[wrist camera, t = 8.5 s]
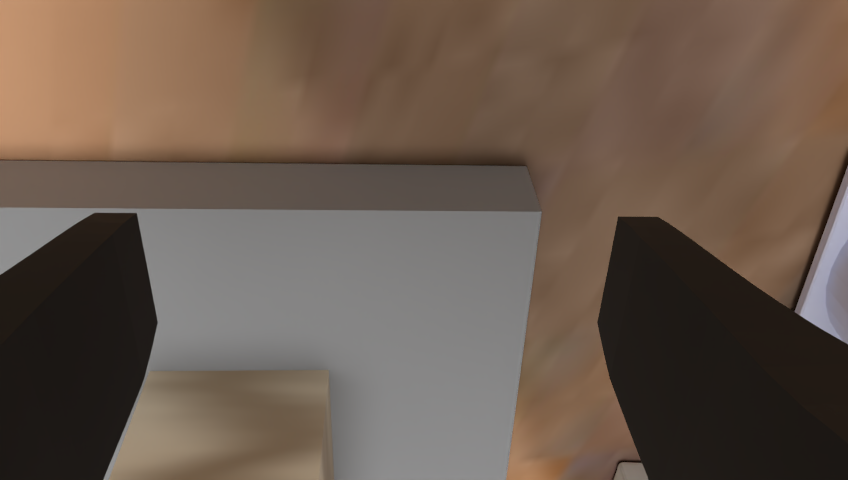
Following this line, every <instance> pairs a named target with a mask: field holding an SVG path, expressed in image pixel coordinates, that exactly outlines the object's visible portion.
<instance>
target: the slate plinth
mask: <svg viewBox="0 0 848 480" xmlns="http://www.w3.org/2000/svg"><path fill="white" fill-rule="evenodd" d="M93 213H137V217H138V222H139V227H140V232H141V237H142V243H143V248H144V253H145V258H146V263H147V269H148V274H149V279H150V284H151V289H152V295H153V300H154V305H155V310H156V315H157V321H158V324H157V329H156V333H155V337H154V342H153V346H152V350H151V355H150V358H149V362H148V366H147V370H146V374H145V377H144V381H143V383H142V386H141V388H140V391H139V394H138V396H137V399H136V401H135V404H134V406H133V409H132V411H131V413H130V416H129V418H128V421H127V423H126V426H125V428H124V431H123V433H122V436H121V438H120V440H119V443H118V445H117V448H116V450H115V453H114V455H113V457H112V460H111V462H110V465H109V467H108V470H107V472H106V474H105V477H104V479H103V480H109V478H110V475H111V472H112V470H113V467H114V464H115V462H116V459H117V456H118V454H119V451H120V448H121V446H122V443H123V440H124V438H125V435H126V432H127V430H128V427H129V424H130V422H131V419H132V417H133V414H134V411H135V409H136V406H137V403H138V401H139V398H140V395H141V393H142V390H143V387H144V385H145V382H146V379H147V377H148V374H149V371H244V370H329V385H330V405H331V426H332V446H333V467H334V480H506V476H507V468H508V461H509V453H510V446H511V439H512V431H513V424H514V416H515V409H516V401H517V394H518V386H519V379H520V371H521V364H522V356H523V349H524V341H525V334H526V326H527V319H528V311H529V304H530V296H531V289H532V281H533V274H534V266H535V259H536V251H537V244H538V236H539V229H540V221H541V214H542V211H541V208H540V205H539V202H538V199H537V196H536V193H535V190H534V187H533V184H532V181H531V178H530V175H529V172H528V169H527V166H476V165H385V164H294V163H203V162H112V161H22V160H0V275H1V274H2V273H4V272H5V271H7V270H8V269H10V268H11V267H13V266H14V265H16V264H17V263H19V262H20V261H22V260H23V259H25V258H26V257H28V256H29V255H30V254H32V253H33V252H35V251H36V250H38V249H39V248H41V247H42V246H44V245H45V244H47V243H48V242H49V241H51V240H52V239H54V238H55V237H57V236H58V235H60V234H61V233H63V232H64V231H66V230H67V229H69V228H70V227H72V226H73V225H75V224H76V223H78V222H80V221H81V220H83V219H84V218H86V217H88V216H90V215H92V214H93Z"/></svg>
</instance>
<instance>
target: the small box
mask: <svg viewBox="0 0 848 480" xmlns="http://www.w3.org/2000/svg"><path fill="white" fill-rule="evenodd" d="M614 480H648V477H647V474H646V472H645V469H644V467H643V464H642V463H635V462H621V463H620V464H619V465H618V468H617V471H616V474H615V477H614Z"/></svg>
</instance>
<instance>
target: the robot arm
mask: <svg viewBox="0 0 848 480" xmlns="http://www.w3.org/2000/svg"><path fill="white" fill-rule="evenodd" d="M157 324H158V321H157V315H156V310H155V305H154V300H153V295H152V289H151V284H150V279H149V274H148V269H147V263H146V258H145V253H144V248H143V243H142V237H141V232H140V227H139V222H138V217H137V213H93V214H92V215H90V216H88V217H86V218H84V219H83V220H81V221H80V222H78V223H76V224H75V225H73V226H72V227H70V228H69V229H67V230H66V231H64V232H63V233H61V234H60V235H58V236H57V237H55V238H54V239H52V240H51V241H49V242H48V243H47V244H45V245H44V246H42V247H41V248H39V249H38V250H36V251H35V252H33V253H32V254H30V255H29V256H28V257H26V258H25V259H23V260H22V261H20V262H19V263H17V264H16V265H14V266H13V267H11V268H10V269H8V270H7V271H5V272H4V273H2V274H1V275H0V480H103V479H104V477H105V474H106V472H107V470H108V467H109V465H110V462H111V460H112V457H113V455H114V453H115V450H116V448H117V445H118V443H119V440H120V438H121V436H122V433H123V431H124V428H125V426H126V423H127V421H128V418H129V416H130V413H131V411H132V409H133V406H134V404H135V401H136V399H137V396H138V394H139V391H140V388H141V386H142V383H143V381H144V377H145V374H146V370H147V366H148V362H149V358H150V355H151V350H152V346H153V342H154V337H155V333H156V329H157ZM598 327H599V332H600V337H601V341H602V346H603V351H604V355H605V360H606V364H607V368H608V372H609V376H610V380H611V382H612V385H613V388H614V391H615V393H616V396H617V399H618V401H619V404H620V407H621V409H622V412H623V415H624V417H625V420H626V423H627V425H628V428H629V430H630V433H631V436H632V438H633V441H634V443H635V446H636V448H637V451H638V454H639V456H640V459H641V461H642V464H643V467H644V469H645V472H646V474H647V477H648V480H848V167H847V169H846V172H845V175H844V178H843V180H842V183H841V186H840V189H839V191H838V194H837V197H836V200H835V202H834V205H833V208H832V210H831V213H830V216H829V219H828V221H827V224H826V227H825V230H824V232H823V235H822V238H821V241H820V243H819V246H818V249H817V251H816V254H815V257H814V260H813V262H812V265H811V268H810V271H809V273H808V276H807V279H806V282H805V284H804V287H803V290H802V292H801V295H800V298H799V301H798V303H797V306H796V309H795V312H794V311H792V310H790V309H789V308H787V307H786V306H784V305H783V304H781V303H779V302H778V301H777V300H775V299H774V298H772V297H771V296H769V295H768V294H766V293H765V292H763V291H762V290H760V289H759V288H757V287H756V286H755V285H753V284H752V283H750V282H749V281H747V280H746V279H745V278H743V277H742V276H740V275H739V274H738V273H736V272H735V271H733V270H732V269H731V268H729V267H728V266H727V265H725V264H724V263H722V262H721V261H720V260H718V259H717V258H716V257H714V256H713V255H712V254H710V253H709V252H708V251H706V250H705V249H703V248H702V247H701V246H699V245H698V244H697V243H695V242H694V241H693V240H691V239H690V238H689V237H687V236H686V235H684V234H683V233H682V232H680V231H679V230H677V229H676V228H674V227H673V226H672V225H670V224H669V223H667V222H665V221H664V220H662V219H660V218H659V217H618V221H617V226H616V231H615V236H614V241H613V246H612V252H611V257H610V262H609V267H608V272H607V277H606V282H605V287H604V292H603V297H602V303H601V308H600V313H599V318H598Z"/></svg>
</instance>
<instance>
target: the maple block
mask: <svg viewBox="0 0 848 480" xmlns="http://www.w3.org/2000/svg"><path fill="white" fill-rule="evenodd" d="M109 480H334V467H333V446H332V426H331V405H330V385H329V370H244V371H149V374H148V377H147V379H146V382H145V385H144V387H143V390H142V393H141V395H140V398H139V401H138V403H137V406H136V409H135V411H134V414H133V417H132V419H131V422H130V424H129V427H128V430H127V432H126V435H125V438H124V440H123V443H122V446H121V448H120V451H119V454H118V456H117V459H116V462H115V464H114V467H113V470H112V472H111V475H110V478H109Z"/></svg>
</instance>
